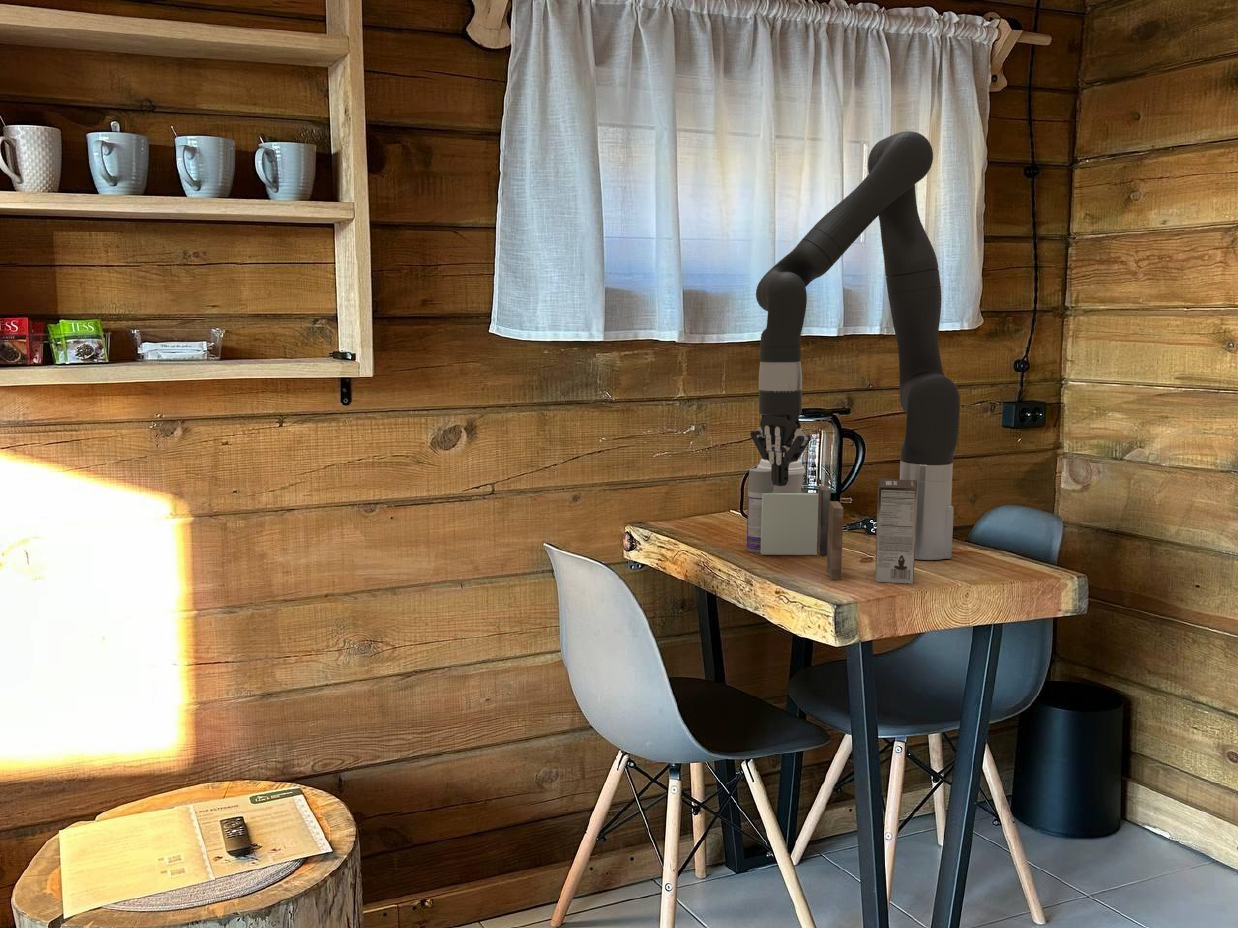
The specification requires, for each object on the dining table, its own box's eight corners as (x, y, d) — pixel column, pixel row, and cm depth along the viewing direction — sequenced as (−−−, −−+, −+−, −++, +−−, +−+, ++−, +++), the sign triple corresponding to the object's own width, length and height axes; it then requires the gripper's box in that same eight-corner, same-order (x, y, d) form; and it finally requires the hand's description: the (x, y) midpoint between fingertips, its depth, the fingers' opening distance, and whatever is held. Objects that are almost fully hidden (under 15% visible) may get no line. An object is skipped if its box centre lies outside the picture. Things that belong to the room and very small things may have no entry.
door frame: (825, 549, 222) (827, 486, 220) (840, 579, 198) (843, 508, 197) (816, 549, 222) (818, 485, 220) (831, 579, 198) (833, 508, 197)
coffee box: (874, 570, 206) (878, 477, 204) (912, 572, 204) (916, 479, 202) (874, 582, 197) (878, 485, 195) (914, 584, 196) (919, 487, 193)
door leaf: (815, 553, 218) (817, 493, 216) (816, 554, 216) (818, 494, 215) (760, 553, 217) (762, 493, 216) (761, 554, 216) (763, 494, 214)
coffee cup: (803, 542, 229) (805, 464, 227) (753, 540, 230) (755, 463, 228) (803, 532, 238) (805, 458, 236) (755, 530, 240) (757, 456, 238)
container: (755, 546, 224) (757, 467, 222) (776, 549, 222) (779, 469, 220) (741, 550, 221) (743, 469, 219) (763, 553, 218) (765, 472, 216)
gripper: (823, 388, 206) (822, 487, 209) (768, 384, 217) (767, 479, 219) (793, 390, 202) (792, 492, 204) (738, 387, 212) (738, 483, 214)
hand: (779, 485), depth 212 cm, fingers closed
